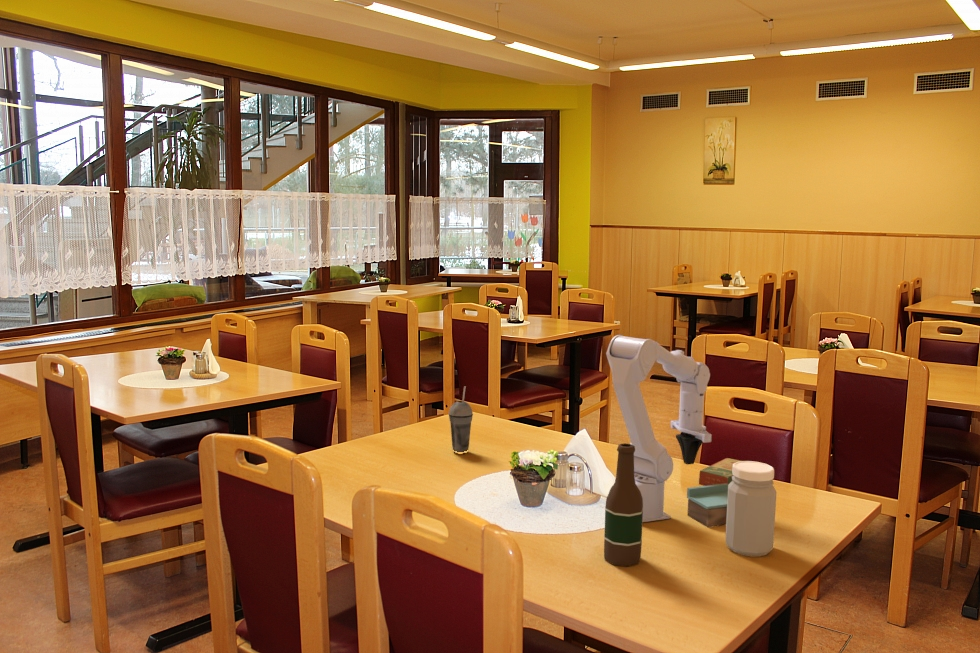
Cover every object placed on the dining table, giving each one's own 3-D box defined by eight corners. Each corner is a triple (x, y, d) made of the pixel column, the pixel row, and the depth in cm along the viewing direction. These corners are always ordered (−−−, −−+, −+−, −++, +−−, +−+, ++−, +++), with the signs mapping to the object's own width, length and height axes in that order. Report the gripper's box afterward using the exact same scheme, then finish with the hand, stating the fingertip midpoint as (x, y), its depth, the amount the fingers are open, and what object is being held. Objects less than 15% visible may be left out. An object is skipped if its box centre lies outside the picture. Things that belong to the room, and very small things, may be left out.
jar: (733, 558, 162) (737, 473, 159) (718, 539, 171) (722, 459, 169) (780, 558, 162) (785, 473, 160) (763, 539, 172) (767, 459, 169)
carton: (754, 478, 215) (755, 463, 214) (727, 492, 203) (728, 476, 203) (725, 471, 220) (726, 456, 220) (698, 485, 209) (698, 469, 208)
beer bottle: (615, 548, 166) (619, 437, 163) (648, 558, 161) (653, 444, 158) (595, 560, 160) (599, 445, 157) (629, 571, 155) (633, 452, 152)
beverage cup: (445, 449, 238) (445, 384, 235) (468, 448, 240) (469, 383, 237) (451, 456, 231) (452, 389, 228) (475, 454, 233) (476, 388, 230)
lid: (707, 509, 178) (707, 499, 178) (686, 497, 186) (687, 487, 185) (747, 503, 182) (747, 493, 182) (725, 492, 189) (726, 483, 189)
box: (707, 527, 178) (708, 510, 178) (687, 515, 186) (688, 498, 185) (748, 521, 182) (748, 505, 181) (726, 510, 189) (727, 494, 189)
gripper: (723, 415, 188) (720, 470, 189) (688, 402, 201) (685, 453, 203) (698, 417, 185) (695, 473, 187) (664, 404, 199) (662, 456, 201)
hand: (688, 463), depth 195 cm, fingers closed
